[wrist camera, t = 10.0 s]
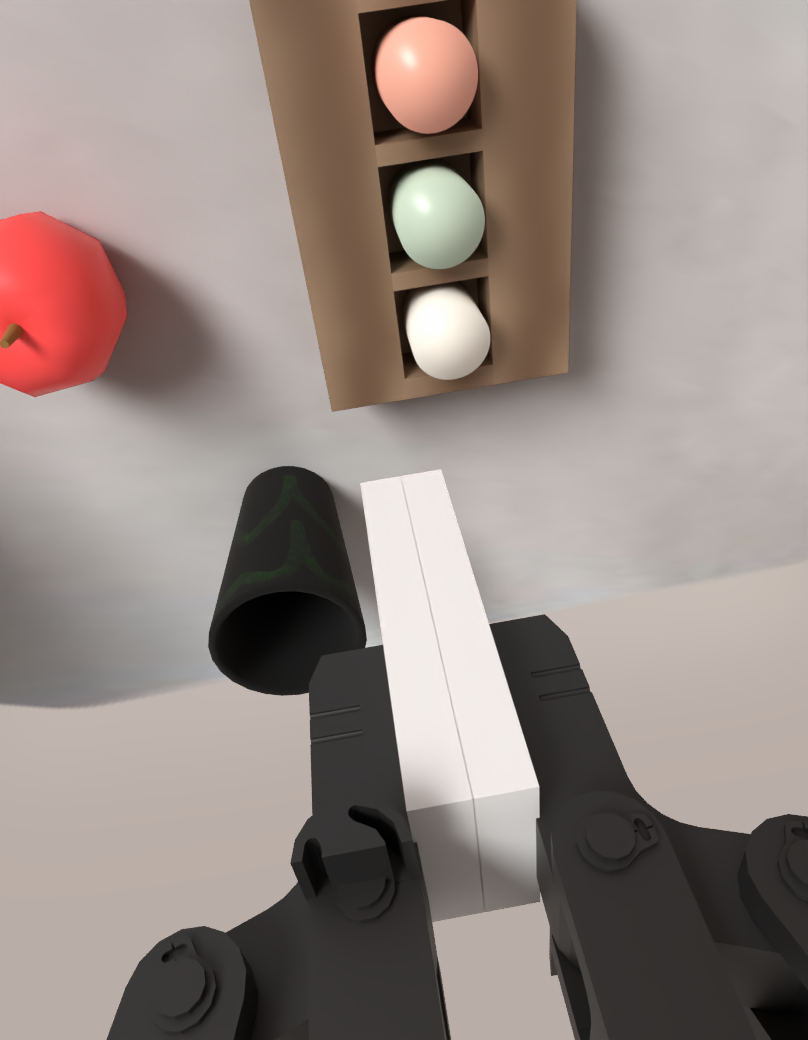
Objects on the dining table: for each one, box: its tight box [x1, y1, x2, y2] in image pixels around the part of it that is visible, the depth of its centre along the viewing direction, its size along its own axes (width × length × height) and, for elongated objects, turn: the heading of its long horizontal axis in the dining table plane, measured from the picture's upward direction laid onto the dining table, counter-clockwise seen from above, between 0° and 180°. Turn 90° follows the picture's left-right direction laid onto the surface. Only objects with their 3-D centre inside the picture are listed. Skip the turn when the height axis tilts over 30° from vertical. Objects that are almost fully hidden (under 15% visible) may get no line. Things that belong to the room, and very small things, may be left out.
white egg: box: [401, 281, 490, 380], centre depth 34 cm, size 4×4×4 cm
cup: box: [208, 466, 367, 696], centre depth 40 cm, size 8×8×12 cm
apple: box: [0, 211, 127, 397], centre depth 32 cm, size 8×8×8 cm
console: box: [249, 0, 577, 412], centre depth 33 cm, size 12×17×5 cm
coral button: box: [371, 15, 478, 134], centre depth 28 cm, size 4×4×4 cm
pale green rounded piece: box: [388, 158, 485, 269], centre depth 31 cm, size 4×4×4 cm
